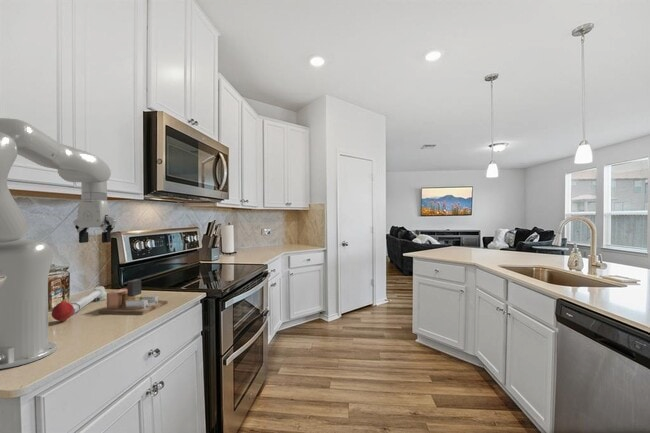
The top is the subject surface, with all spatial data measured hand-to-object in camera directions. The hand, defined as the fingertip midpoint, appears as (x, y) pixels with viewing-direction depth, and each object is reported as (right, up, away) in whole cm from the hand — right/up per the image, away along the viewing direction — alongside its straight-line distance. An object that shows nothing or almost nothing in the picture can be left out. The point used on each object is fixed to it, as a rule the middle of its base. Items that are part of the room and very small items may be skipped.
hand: (95, 242), depth 105 cm
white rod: (-14, -29, +13) cm, 35 cm away
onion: (-7, -29, -5) cm, 30 cm away
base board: (+9, -28, +9) cm, 31 cm away
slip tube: (+6, -26, +9) cm, 28 cm away
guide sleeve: (+13, -27, +9) cm, 31 cm away
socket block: (+3, -27, +10) cm, 29 cm away
